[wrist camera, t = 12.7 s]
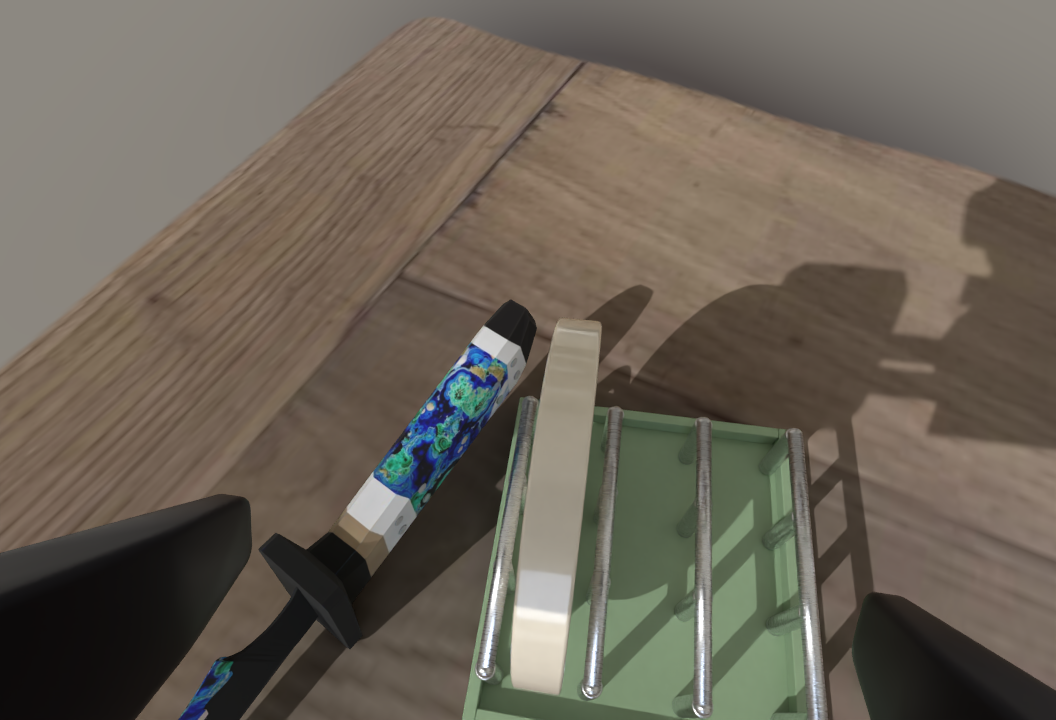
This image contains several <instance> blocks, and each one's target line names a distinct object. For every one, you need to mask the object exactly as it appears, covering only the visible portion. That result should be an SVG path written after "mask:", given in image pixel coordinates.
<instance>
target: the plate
mask: <svg viewBox="0 0 1056 720" xmlns="http://www.w3.org/2000/svg"><path fill="white" fill-rule="evenodd" d="M601 335H602V323H601V322H599V321H591V320H582V319H572V318H563V317H562V318H559V320H558V322H557V324H556V326H555V329H554V333H553V336H552V340H551V345H550V349H549V353H548V358H547V363H546V368H545V374H544V379H543V385H542V390H541V396H540V402H539V408H538V414H537V420H536V427H535V434H534V440H533V447H532V454H531V461H530V468H529V475H528V483H527V490H526V498H525V506H524V514H523V522H522V531H521V539H520V548H519V557H518V566H517V576H516V587H515V597H514V609H513V621H512V636H511V657H510V675H511V683H512V686H513V688H514V689H517V690H523V691H529V692H534V693H540V694H546V695H552V696H560V694H561V691H562V685H563V677H564V670H565V662H566V654H567V646H568V638H569V630H570V622H571V613H572V605H573V596H574V588H575V579H576V571H577V562H578V553H579V544H580V536H581V527H582V518H583V509H584V500H585V491H586V482H587V472H588V463H589V454H590V445H591V435H592V426H593V416H594V407H595V397H596V387H597V378H598V368H599V357H600V347H601Z"/></svg>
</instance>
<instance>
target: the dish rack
mask: <svg viewBox="0 0 1056 720" xmlns="http://www.w3.org/2000/svg"><path fill="white" fill-rule="evenodd" d="M539 402H540V399H536V398H535V397H533V396H527V397H525V398H523V397H520V399H519V405H518V411H517V416H516V422H515V427H514V433H513V438H512V444H511V450H510V455H509V461H508V466H507V472H506V477H505V483H504V489H503V494H502V500H501V505H500V511H499V516H498V522H497V527H496V533H495V539H494V544H493V550H492V555H491V561H490V566H489V572H488V578H487V583H486V589H485V594H484V600H483V605H482V611H481V617H480V622H479V628H478V633H477V639H476V644H475V650H474V655H473V661H472V667H471V672H470V678H469V683H468V689H467V694H466V700H465V706H464V711H463V717H462V720H828V713H827V702H826V690H825V679H824V668H823V656H822V645H821V633H820V622H819V610H818V599H817V588H816V576H815V565H814V553H813V542H812V530H811V519H810V508H809V496H808V485H807V473H806V462H805V450H804V439H803V433H802V431H801V430H800V429H798V428H790V429H788V430H786V429H777V428H769V427H761V426H753V425H745V424H736V423H728V422H720V421H712V420H710V419H709V418H707V417H699V418H697V419H695V418H687V417H679V416H671V415H663V414H654V413H646V412H638V411H630V410H622V409H621V408H620V407H618V406H613V407H611V408H605V407H597V406H595V407H594V416H593V426H592V435H591V445H590V454H589V463H588V472H587V482H586V491H585V500H584V509H583V518H582V527H581V536H580V544H579V553H578V562H577V571H576V579H575V588H574V596H573V605H572V613H571V622H570V630H569V638H568V646H567V654H566V662H565V670H564V677H563V685H562V691H561V694H560V696H552V695H546V694H540V693H534V692H529V691H523V690H517V689H514V688H513V686H512V683H511V675H510V657H511V636H512V621H513V609H514V597H515V587H516V576H517V566H518V557H519V548H520V539H521V531H522V522H523V514H524V506H525V498H526V490H527V483H528V475H529V468H530V461H531V454H532V447H533V440H534V434H535V427H536V420H537V414H538V408H539Z"/></svg>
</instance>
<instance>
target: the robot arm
mask: <svg viewBox="0 0 1056 720" xmlns="http://www.w3.org/2000/svg"><path fill="white" fill-rule="evenodd" d="M251 548H252V536H251V509H250V504H249V501H248V500H247V499H246V498H244V497H240V496H233V495H226V494H218V495H214V496H210V497H207V498H203V499H199V500H196V501H192V502H188V503H184V504H181V505H177V506H173V507H170V508H166V509H162V510H158V511H155V512H151V513H147V514H144V515H140V516H136V517H132V518H129V519H125V520H121V521H118V522H114V523H110V524H107V525H103V526H99V527H95V528H92V529H88V530H84V531H81V532H77V533H73V534H69V535H66V536H62V537H58V538H55V539H51V540H47V541H43V542H40V543H36V544H32V545H29V546H25V547H21V548H17V549H14V550H10V551H6V552H3V553H0V720H135V719H136V718H137V716H138V715H139V714H140V713H141V711H142V710H143V709H144V708H145V706H146V705H147V704H148V703H149V701H150V700H151V699H152V697H153V696H154V695H155V694H156V692H157V691H158V690H159V689H160V687H161V686H162V685H163V684H164V682H165V681H166V680H167V679H168V677H169V676H170V675H171V674H172V672H173V671H174V670H175V668H176V667H177V666H178V665H179V663H180V662H181V661H182V659H183V658H184V657H185V655H186V654H187V653H188V651H189V650H190V649H191V647H192V646H193V644H194V643H195V641H196V640H197V639H198V637H199V636H200V634H201V633H202V631H203V630H204V628H205V627H206V625H207V623H208V622H209V620H210V619H211V617H212V616H213V614H214V613H215V611H216V610H217V608H218V607H219V605H220V603H221V602H222V600H223V599H224V597H225V596H226V594H227V593H228V591H229V590H230V588H231V587H232V585H233V583H234V582H235V580H236V579H237V577H238V576H239V574H240V573H241V571H242V570H243V568H244V567H245V565H246V563H247V561H248V559H249V557H250V553H251ZM852 657H853V662H854V666H855V669H856V672H857V676H858V679H859V682H860V686H861V689H862V692H863V695H864V699H865V702H866V705H867V709H868V712H869V715H870V719H871V720H1056V690H1054V689H1052V688H1051V687H1049V686H1047V685H1046V684H1044V683H1043V682H1041V681H1039V680H1038V679H1036V678H1034V677H1033V676H1031V675H1030V674H1028V673H1026V672H1025V671H1023V670H1021V669H1020V668H1018V667H1016V666H1015V665H1013V664H1012V663H1010V662H1008V661H1007V660H1005V659H1003V658H1002V657H1000V656H999V655H997V654H995V653H994V652H992V651H990V650H989V649H987V648H985V647H984V646H982V645H981V644H979V643H977V642H976V641H974V640H972V639H971V638H969V637H968V636H966V635H964V634H963V633H961V632H959V631H958V630H956V629H954V628H953V627H951V626H950V625H948V624H946V623H945V622H943V621H941V620H940V619H938V618H937V617H935V616H933V615H932V614H930V613H928V612H927V611H925V610H924V609H922V608H920V607H919V606H917V605H915V604H914V603H912V602H910V601H909V600H907V599H906V598H904V597H901V596H897V595H890V594H884V593H877V592H872V593H870V594H868V595H867V596H866V597H865V599H864V601H863V605H862V608H861V612H860V616H859V620H858V623H857V627H856V631H855V635H854V639H853V643H852Z"/></svg>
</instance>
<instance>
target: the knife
mask: <svg viewBox="0 0 1056 720" xmlns="http://www.w3.org/2000/svg"><path fill="white" fill-rule="evenodd" d="M536 329H537V327H536V323H535V320H534V319H533V317H532V316H531V314H530V313H529V311H528V310H527V309H526V308H525V307H523V306H521V305H520V304H518V303H516V302H514V301H513V300H509V301H508V302H506V303H504V304H503V305H502V306H501V307H500V308H499V309H498V310H497V311H496V312H495V314H494V315H493V316H492V317H491V318H490V319H489V320H488V321H487V322H486V323H485V324H484V326H483V327H482V328H481V329H480V331H479V332H478V333H477V335H476V336H475V337H474V338H473V340H472V341H471V342H470V344H469V345H468V346H467V348H466V349H465V350H464V352H463V353H462V354H461V356H460V357H459V358H458V360H457V361H456V362H455V364H454V365H453V366H452V368H451V369H450V370H449V372H448V373H447V374H446V376H445V377H444V378H443V380H442V381H441V382H440V384H439V385H438V386H437V388H436V389H435V390H434V392H433V393H432V394H431V396H430V397H429V398H428V400H427V401H426V402H425V404H424V405H423V406H422V408H421V409H420V410H419V412H418V413H417V414H416V416H415V417H414V418H413V420H412V421H411V422H410V424H409V425H408V426H407V428H406V429H405V430H404V431H403V433H402V434H401V435H400V437H399V438H398V439H397V441H396V442H395V443H394V445H393V446H392V447H391V449H390V450H389V451H388V453H387V454H386V455H385V457H384V458H383V459H382V461H381V462H380V463H379V465H378V466H377V467H376V469H375V470H374V471H373V473H372V474H371V475H370V477H369V478H368V479H367V481H366V482H365V483H364V485H363V486H362V487H361V489H360V490H359V491H358V493H357V494H356V495H355V497H354V498H353V500H352V501H351V502H350V504H349V505H348V506H347V508H346V509H345V510H344V512H343V513H342V514H341V516H340V517H339V518H338V520H337V521H336V522H335V524H334V525H333V526H332V528H331V529H330V530H329V532H328V533H327V534H325V535H324V536H323V537H322V538H320V539H319V540H318V541H317V542H315V543H314V544H313V545H312V546H310V547H309V548H308V549H307V550H305V549H304V548H302V547H300V546H299V545H297V544H295V543H293V542H292V541H290V540H288V539H287V538H285V537H283V536H281V535H280V534H277V533H275V534H274V535H273V536H272V537H271V538H270V539H269V540H268V541H266V542H265V543H264V544H263V545H262V546H261V547H260V548H259V549H258V550H259V551H260V553H261V554H262V556H263V557H264V559H265V560H266V561H267V563H268V564H269V566H270V567H271V569H272V570H273V571H274V573H275V574H276V576H277V577H278V579H279V580H280V582H281V583H282V584H283V586H284V587H285V589H286V590H287V592H288V593H289V594H290V595H291V598H290V600H289V602H288V603H287V604H286V606H285V607H284V609H283V610H282V611H281V613H280V614H279V615H278V616H277V618H276V619H275V620H274V621H273V623H272V624H271V625H270V626H269V627H268V628H267V629H266V630H265V631H264V632H263V633H262V634H261V635H260V636H259V637H258V638H256V639H255V640H254V641H253V642H252V643H251V644H250V645H248V646H247V647H246V648H245V649H243V650H242V651H240V652H238V653H236V654H234V655H232V656H229V657H221V658H219V659H217V660H216V661H215V662H214V664H213V666H212V667H211V669H210V671H209V672H208V674H207V676H206V677H205V679H204V681H203V682H202V684H201V686H200V687H199V689H198V691H197V692H196V694H195V695H194V697H193V698H192V700H191V701H190V703H189V704H188V706H187V707H186V709H185V710H184V712H183V713H182V715H181V716H180V718H179V719H178V720H240V718H241V717H242V716H243V714H244V713H245V712H246V710H247V709H248V708H249V706H250V705H251V704H252V702H253V701H254V700H255V698H256V697H257V696H258V694H259V693H260V692H261V690H262V689H263V688H264V686H265V685H266V684H267V682H268V681H269V680H270V678H271V677H272V676H273V674H274V673H275V672H276V670H277V669H278V668H279V666H280V665H281V664H282V662H283V661H284V660H285V659H286V657H287V656H288V655H289V653H290V652H291V651H292V649H293V648H294V647H295V646H296V644H297V643H298V642H299V641H300V640H301V638H302V637H303V636H304V634H305V633H306V632H307V631H308V629H309V628H310V627H311V625H312V624H313V623H314V621H315V620H317V621H318V622H320V623H321V624H322V625H323V626H324V627H325V628H326V629H327V630H328V631H329V632H331V633H332V634H333V635H334V636H335V637H336V638H337V639H338V640H339V641H340V642H341V643H343V644H344V645H345V646H346V647H347V648H349V649H351V648H352V647H353V646H354V644H355V643H356V642H357V641H358V640H359V639H360V638H361V637H362V633H361V630H360V627H359V624H358V622H357V619H356V616H355V613H354V610H353V607H352V603H353V602H354V600H355V599H356V597H357V596H358V595H359V593H360V592H361V591H362V589H363V588H364V587H365V585H366V584H367V583H368V581H369V580H370V578H371V577H372V575H373V574H374V573H375V571H376V570H377V569H378V567H379V566H380V565H381V563H382V562H383V561H384V559H385V558H386V557H387V555H388V554H389V553H390V551H391V550H392V549H393V547H394V546H395V545H396V543H397V542H398V541H399V539H400V538H401V537H402V535H403V534H404V533H405V531H406V530H407V529H408V527H409V526H410V525H411V523H412V522H413V521H414V519H415V518H416V517H417V515H418V514H419V513H420V511H421V510H422V509H423V507H424V506H425V505H426V503H427V502H428V501H429V499H430V498H431V497H432V495H433V494H434V493H435V491H436V490H437V489H438V487H439V486H440V485H441V483H442V482H443V481H444V479H445V478H446V476H447V475H448V474H449V472H450V471H451V470H452V468H453V467H454V466H455V464H456V463H457V462H458V460H459V459H460V458H461V456H462V455H463V454H464V452H465V451H466V450H467V448H468V447H469V446H470V444H471V443H472V442H473V440H474V439H475V438H476V436H477V435H478V434H479V432H480V431H481V430H482V428H483V427H484V426H485V424H486V423H487V422H488V420H489V419H490V418H491V416H492V415H493V414H494V412H495V411H496V410H497V408H498V407H499V406H500V404H501V403H502V402H503V400H504V399H505V398H506V396H507V395H508V394H509V392H510V391H511V390H512V388H513V387H514V386H515V384H516V383H517V381H518V379H519V377H520V375H521V373H522V371H523V369H524V367H525V365H526V363H527V360H528V356H529V353H530V350H531V346H532V343H533V340H534V336H535V333H536Z"/></svg>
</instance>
